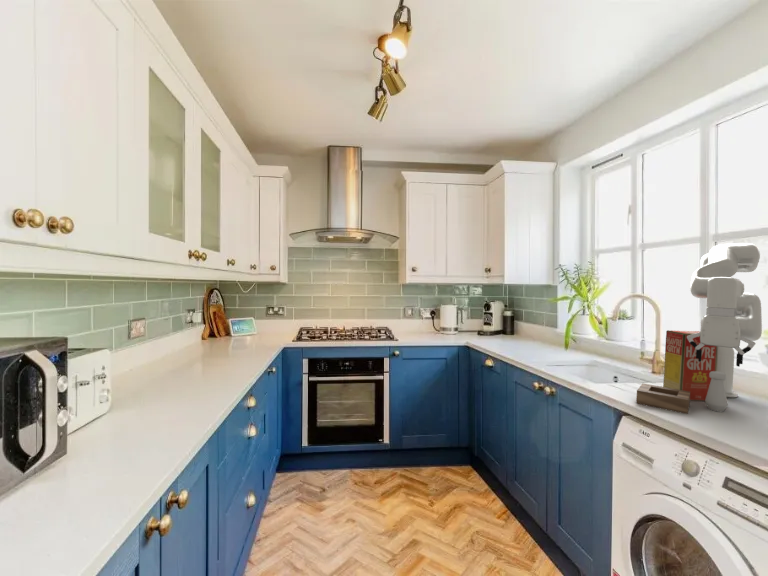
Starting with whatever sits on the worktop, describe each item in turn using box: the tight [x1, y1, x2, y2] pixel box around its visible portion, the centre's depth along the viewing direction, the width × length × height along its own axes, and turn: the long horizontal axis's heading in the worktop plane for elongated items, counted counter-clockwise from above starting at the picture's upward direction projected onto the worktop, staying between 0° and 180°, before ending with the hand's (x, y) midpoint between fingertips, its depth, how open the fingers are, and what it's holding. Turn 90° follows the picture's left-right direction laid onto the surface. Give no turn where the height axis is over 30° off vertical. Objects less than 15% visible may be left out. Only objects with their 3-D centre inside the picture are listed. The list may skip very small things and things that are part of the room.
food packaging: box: [662, 330, 717, 402], centre depth 140 cm, size 13×9×25 cm
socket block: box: [635, 383, 691, 415], centre depth 131 cm, size 14×14×5 cm
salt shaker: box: [704, 371, 729, 413], centre depth 126 cm, size 6×6×13 cm
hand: (718, 363), depth 126 cm, fingers open, 9 cm apart
